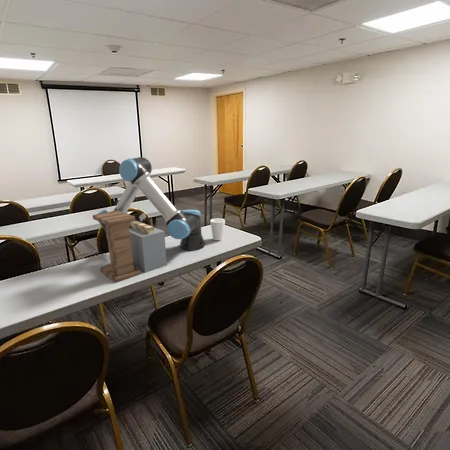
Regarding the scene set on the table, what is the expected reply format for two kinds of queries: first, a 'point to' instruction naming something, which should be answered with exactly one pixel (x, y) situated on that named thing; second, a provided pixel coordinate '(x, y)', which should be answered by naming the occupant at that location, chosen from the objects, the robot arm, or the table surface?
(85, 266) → the table surface
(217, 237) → the foam cup
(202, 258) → the table surface
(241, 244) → the table surface
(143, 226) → the notched tan bar
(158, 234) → the grey block
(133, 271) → the walnut stand
